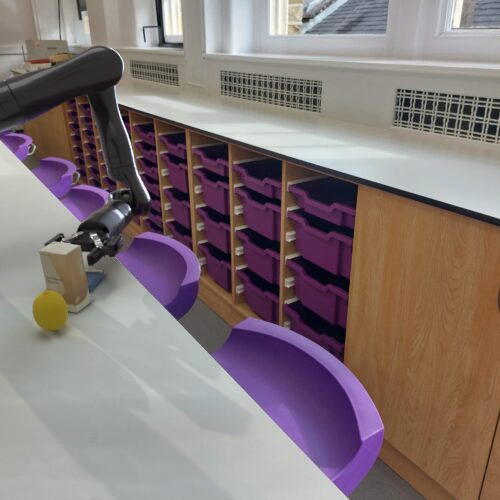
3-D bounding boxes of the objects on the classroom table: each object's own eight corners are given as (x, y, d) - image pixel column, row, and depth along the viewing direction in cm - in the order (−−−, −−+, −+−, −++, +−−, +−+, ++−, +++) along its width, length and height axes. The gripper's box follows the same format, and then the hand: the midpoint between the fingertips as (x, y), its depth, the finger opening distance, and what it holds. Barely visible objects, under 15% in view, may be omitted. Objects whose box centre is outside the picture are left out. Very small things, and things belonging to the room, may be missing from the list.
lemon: (71, 336, 83) (62, 295, 80) (37, 342, 82) (26, 301, 79) (72, 319, 88) (63, 280, 85) (40, 325, 87) (29, 286, 84)
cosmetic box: (50, 308, 92) (35, 250, 87) (65, 297, 96) (52, 240, 91) (78, 313, 90) (65, 254, 85) (93, 302, 94) (81, 244, 88)
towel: (48, 291, 98) (46, 283, 98) (64, 275, 105) (62, 267, 104) (90, 292, 97) (89, 284, 96) (104, 275, 103) (103, 268, 103)
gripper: (68, 211, 105) (27, 242, 90) (131, 212, 103) (100, 243, 88) (75, 243, 108) (36, 277, 94) (136, 244, 106) (107, 279, 92)
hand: (67, 260), depth 91 cm, fingers open, 8 cm apart
